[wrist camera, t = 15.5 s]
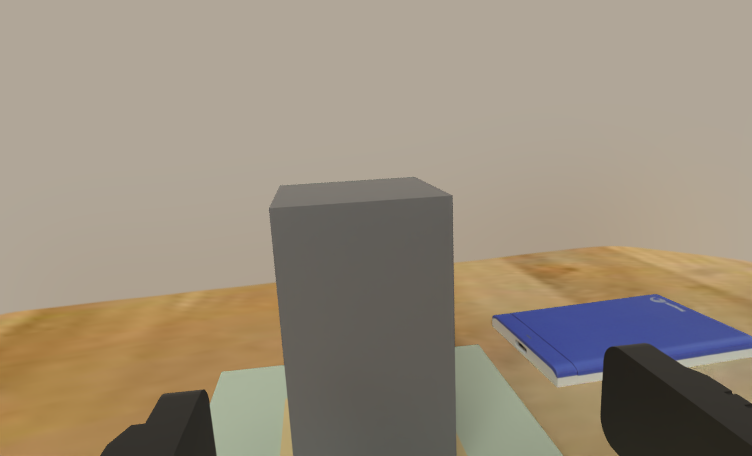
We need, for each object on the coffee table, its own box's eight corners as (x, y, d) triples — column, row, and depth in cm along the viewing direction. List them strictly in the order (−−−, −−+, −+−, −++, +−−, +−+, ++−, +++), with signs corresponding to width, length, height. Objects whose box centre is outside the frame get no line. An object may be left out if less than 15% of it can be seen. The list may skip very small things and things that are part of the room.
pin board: (478, 369, 28) (478, 309, 27) (641, 605, 14) (650, 498, 13) (224, 397, 26) (217, 334, 25) (129, 698, 12) (106, 581, 12)
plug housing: (421, 391, 23) (414, 177, 20) (457, 475, 17) (452, 195, 15) (300, 405, 22) (280, 185, 20) (297, 497, 17) (269, 208, 14)
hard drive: (653, 291, 35) (492, 312, 33) (760, 338, 27) (557, 369, 25) (651, 311, 35) (492, 333, 33) (757, 364, 28) (557, 397, 25)
